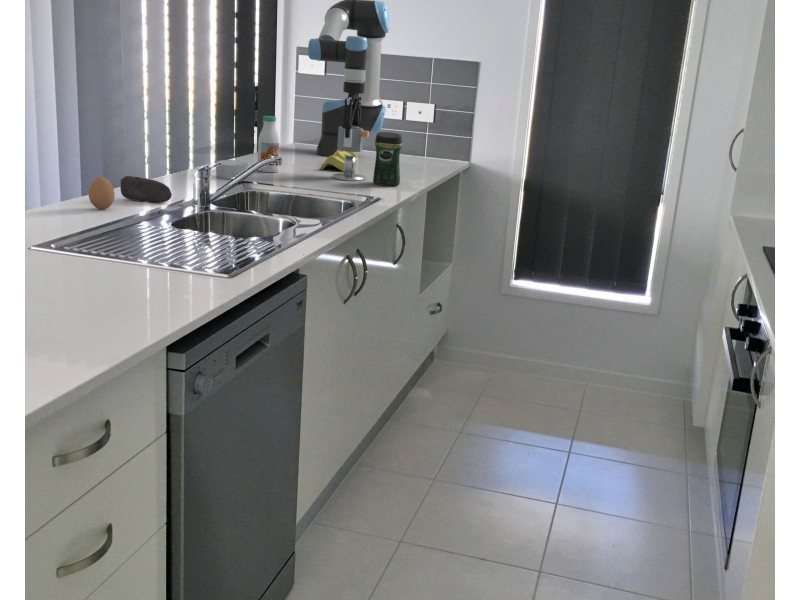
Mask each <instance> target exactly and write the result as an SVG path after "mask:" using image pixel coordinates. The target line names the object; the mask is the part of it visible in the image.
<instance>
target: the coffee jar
mask: <svg viewBox="0 0 800 600" xmlns="http://www.w3.org/2000/svg"><path fill="white" fill-rule="evenodd" d="M374 145H375V162H374V170H373V177H372V183H374V185H379V186H386V187H389V186H391V187H393V186H399V185H400V183H401V171H400V170H401V169H400V153H401V149H402V147H403V136H402V134H401V133H399V132H398V133H397V132H391V131H380V132H379V133H376V136H375V142H374Z"/></svg>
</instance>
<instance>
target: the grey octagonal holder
mask: <svg viewBox="0 0 800 600" xmlns="http://www.w3.org/2000/svg"><path fill="white" fill-rule="evenodd" d="M351 129H352V143H351V147H343V146H344V128H342V127H339V128H338V146H337V150H340V151H346V152H354V153H360V152H362V151H363V144H364V143H363V142H364V138H369V136H370V133H369V131H364V130H363V129H362V128H358V127H352V128H351Z"/></svg>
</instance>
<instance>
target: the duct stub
mask: <svg viewBox="0 0 800 600" xmlns="http://www.w3.org/2000/svg"><path fill="white" fill-rule="evenodd" d="M355 160H356V157H355V156H345V160H344V171H343V172H341V173H340V172H339V173H333V174H332V178H333V179H334V178H335V180H338V181H343V180H344V182H345V181H346V182H363V181H365V180H366V176H365V175H363V174H357V173H356V163H355Z"/></svg>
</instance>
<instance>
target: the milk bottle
mask: <svg viewBox="0 0 800 600" xmlns="http://www.w3.org/2000/svg"><path fill="white" fill-rule="evenodd" d="M262 123H263V124H262V125H263V126H262V129H261V131H260V133H259V136H258V142H257V145H258V146H257V162H258V161H260V160H262V159H265V158H268V157H271V156H279V157H280V137H279V134H278V131H277V128H276V124H277V117H276V116H274V115H263V117H262ZM279 167H280V166H276V165H274V164H269V165H266V166H265V167H263V168H261V169H260V170H258V169H257V171H259V172H263V173H278V172H279V169H280V168H279Z"/></svg>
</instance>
